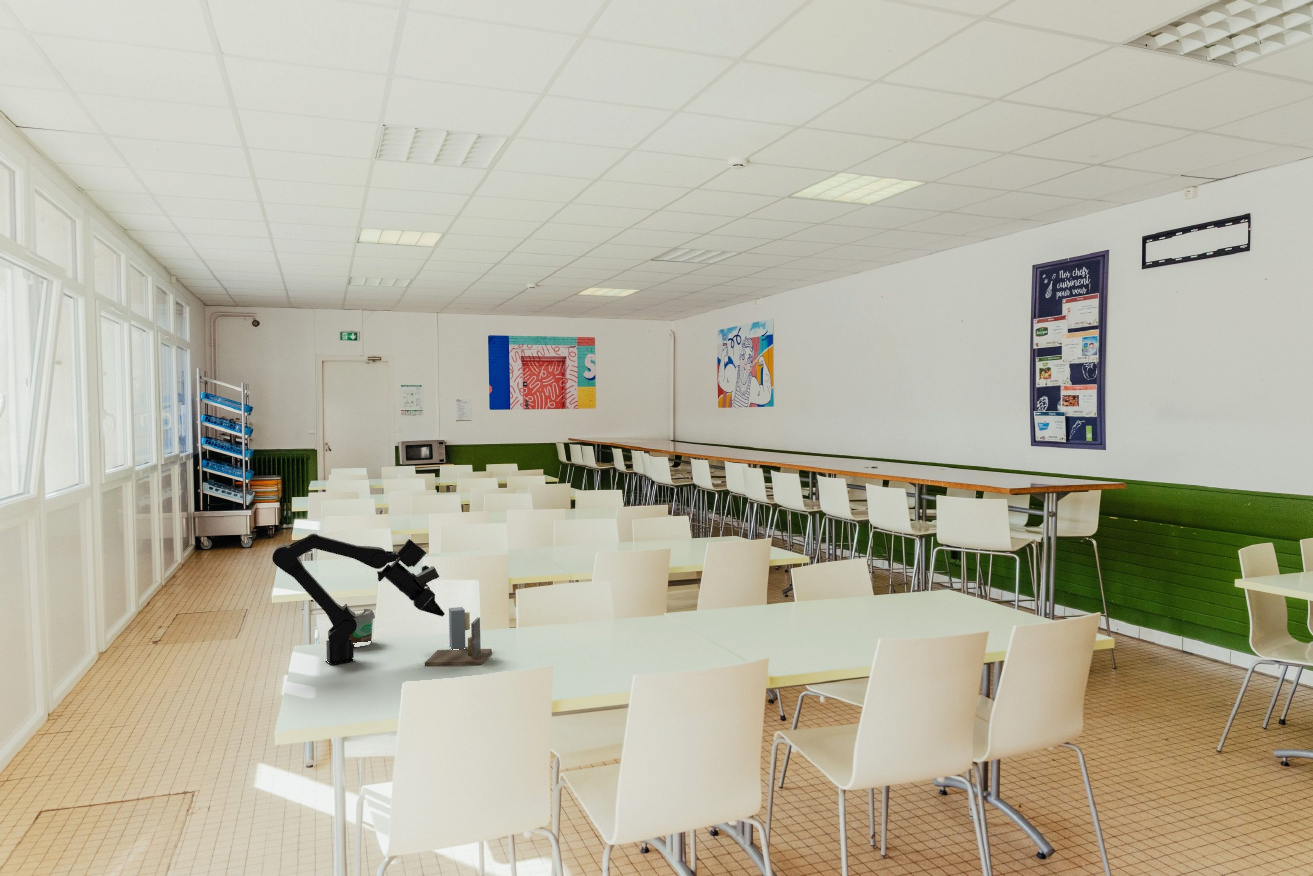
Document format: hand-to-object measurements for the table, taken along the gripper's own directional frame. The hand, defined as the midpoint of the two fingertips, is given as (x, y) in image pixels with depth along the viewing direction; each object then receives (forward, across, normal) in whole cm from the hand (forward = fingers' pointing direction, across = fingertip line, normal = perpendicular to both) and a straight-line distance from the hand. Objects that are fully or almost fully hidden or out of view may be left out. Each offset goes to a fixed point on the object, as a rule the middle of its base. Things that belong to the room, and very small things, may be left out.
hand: (441, 612), depth 247 cm
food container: (-7, +19, +23) cm, 31 cm away
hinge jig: (+10, -13, +6) cm, 17 cm away
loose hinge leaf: (+11, 0, +5) cm, 12 cm away
